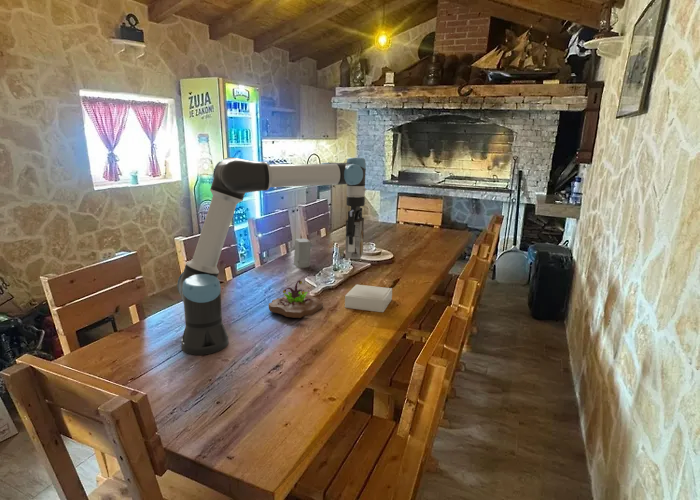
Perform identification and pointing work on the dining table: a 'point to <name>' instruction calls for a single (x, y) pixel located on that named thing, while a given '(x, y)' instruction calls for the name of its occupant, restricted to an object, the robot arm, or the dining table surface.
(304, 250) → the skincare box
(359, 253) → the coffee box
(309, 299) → the plant
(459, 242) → the dining table surface
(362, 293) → the riser
